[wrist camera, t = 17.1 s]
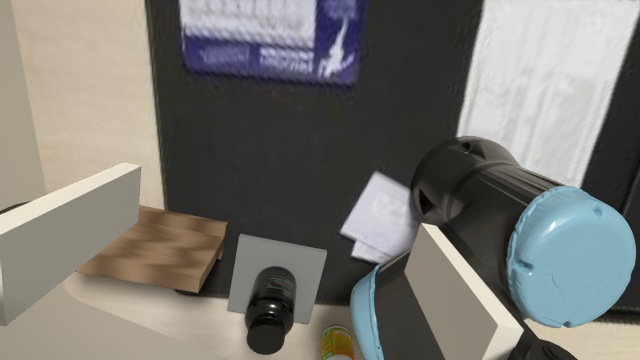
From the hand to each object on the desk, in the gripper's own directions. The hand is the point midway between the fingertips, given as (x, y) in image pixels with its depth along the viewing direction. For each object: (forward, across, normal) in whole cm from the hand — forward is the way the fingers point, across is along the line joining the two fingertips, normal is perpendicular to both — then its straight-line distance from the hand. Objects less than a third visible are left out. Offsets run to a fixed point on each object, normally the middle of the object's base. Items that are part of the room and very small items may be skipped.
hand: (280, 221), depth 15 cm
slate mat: (+32, -1, +26) cm, 41 cm away
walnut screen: (+32, +18, +20) cm, 42 cm away
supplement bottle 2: (+32, -13, +35) cm, 49 cm away
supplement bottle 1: (+31, -1, +26) cm, 40 cm away
